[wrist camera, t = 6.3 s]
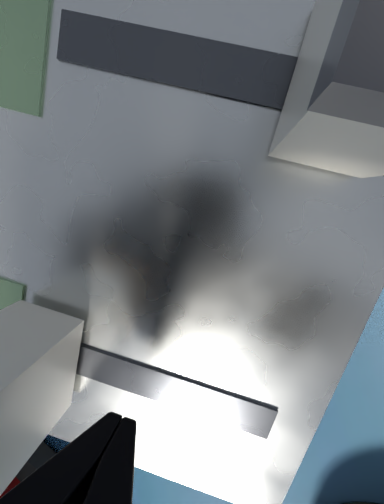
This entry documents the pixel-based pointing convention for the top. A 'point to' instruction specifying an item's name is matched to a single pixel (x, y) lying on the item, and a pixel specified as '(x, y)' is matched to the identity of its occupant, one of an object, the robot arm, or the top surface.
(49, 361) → the switch
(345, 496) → the top surface
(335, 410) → the top surface
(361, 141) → the switch
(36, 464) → the bumper car
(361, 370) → the top surface
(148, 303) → the panel
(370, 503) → the coil
